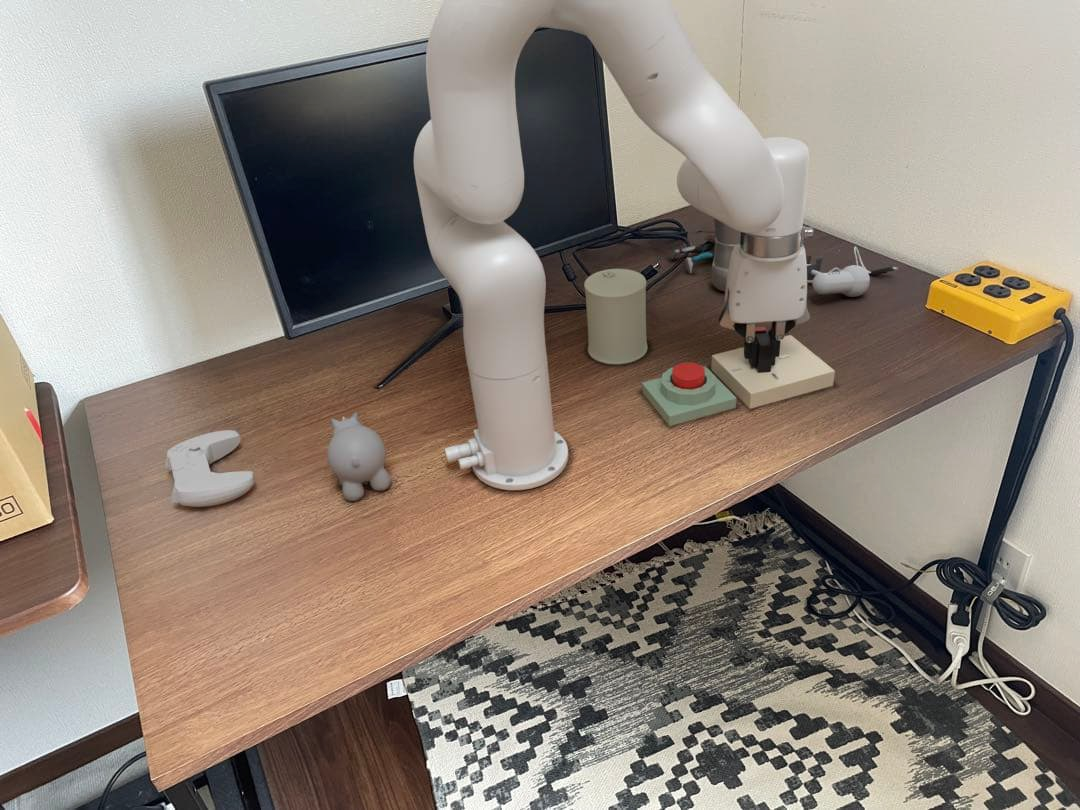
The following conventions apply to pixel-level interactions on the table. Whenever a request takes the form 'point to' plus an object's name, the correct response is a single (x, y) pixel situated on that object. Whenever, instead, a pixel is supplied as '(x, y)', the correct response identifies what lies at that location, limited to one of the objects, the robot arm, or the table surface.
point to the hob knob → (763, 350)
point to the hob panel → (773, 374)
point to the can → (616, 316)
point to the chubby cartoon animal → (357, 457)
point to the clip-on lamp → (841, 278)
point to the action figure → (698, 251)
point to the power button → (688, 376)
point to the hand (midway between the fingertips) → (760, 360)
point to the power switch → (687, 398)
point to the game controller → (206, 470)
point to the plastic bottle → (723, 253)
